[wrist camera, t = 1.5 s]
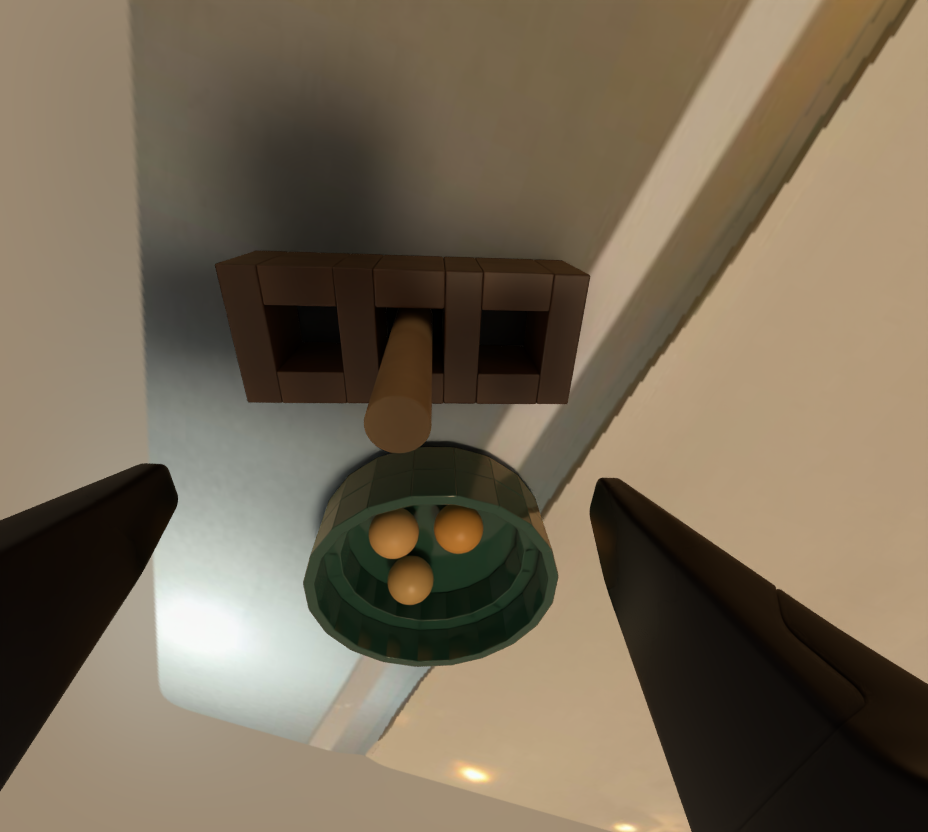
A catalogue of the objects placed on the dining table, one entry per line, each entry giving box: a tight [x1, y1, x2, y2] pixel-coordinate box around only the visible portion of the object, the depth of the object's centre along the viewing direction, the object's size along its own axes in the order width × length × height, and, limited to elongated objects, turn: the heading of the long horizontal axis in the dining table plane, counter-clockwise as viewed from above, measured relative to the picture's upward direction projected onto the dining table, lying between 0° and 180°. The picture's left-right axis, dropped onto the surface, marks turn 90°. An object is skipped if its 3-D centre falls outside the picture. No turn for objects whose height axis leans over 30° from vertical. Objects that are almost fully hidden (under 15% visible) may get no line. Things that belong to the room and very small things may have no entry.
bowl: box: [303, 447, 558, 667], centre depth 25 cm, size 14×14×5 cm
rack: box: [215, 251, 590, 404], centre depth 19 cm, size 14×6×4 cm, turn 88°
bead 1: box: [369, 508, 419, 559], centre depth 25 cm, size 3×3×3 cm
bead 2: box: [387, 556, 434, 605], centre depth 27 cm, size 3×3×3 cm
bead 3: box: [434, 505, 483, 554], centre depth 25 cm, size 3×3×3 cm
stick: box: [364, 308, 433, 453], centre depth 16 cm, size 2×2×11 cm
